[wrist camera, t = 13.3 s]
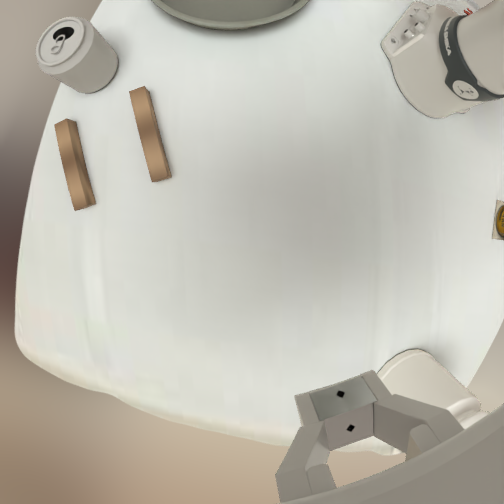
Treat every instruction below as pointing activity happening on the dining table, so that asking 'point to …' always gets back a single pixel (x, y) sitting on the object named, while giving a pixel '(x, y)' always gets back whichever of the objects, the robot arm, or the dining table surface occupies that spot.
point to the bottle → (430, 385)
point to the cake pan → (230, 12)
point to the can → (76, 55)
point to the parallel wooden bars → (75, 159)
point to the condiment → (499, 221)
